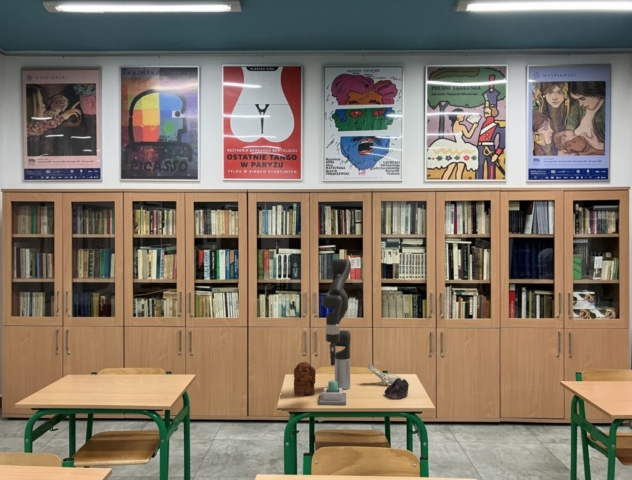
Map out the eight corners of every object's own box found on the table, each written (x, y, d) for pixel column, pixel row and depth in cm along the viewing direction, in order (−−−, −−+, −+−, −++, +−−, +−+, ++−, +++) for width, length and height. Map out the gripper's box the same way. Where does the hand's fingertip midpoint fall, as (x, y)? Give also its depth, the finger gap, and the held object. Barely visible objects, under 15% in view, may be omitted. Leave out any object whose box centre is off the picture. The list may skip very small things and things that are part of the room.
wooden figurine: (295, 396, 272) (294, 364, 272) (293, 393, 278) (293, 361, 278) (316, 395, 274) (316, 363, 274) (314, 392, 280) (314, 360, 280)
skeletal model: (409, 387, 289) (377, 358, 290) (398, 399, 289) (366, 370, 290) (405, 380, 305) (375, 352, 306) (395, 390, 305) (365, 363, 306)
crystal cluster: (384, 400, 268) (385, 382, 267) (383, 390, 281) (385, 373, 281) (409, 403, 266) (410, 385, 266) (407, 393, 280) (409, 376, 279)
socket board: (320, 395, 275) (320, 386, 275) (345, 395, 274) (345, 386, 274) (319, 404, 258) (319, 395, 258) (346, 405, 257) (345, 395, 257)
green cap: (328, 395, 269) (328, 380, 269) (337, 395, 268) (337, 381, 268) (328, 398, 264) (328, 383, 264) (337, 398, 263) (337, 383, 263)
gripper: (326, 330, 274) (326, 361, 274) (325, 334, 260) (325, 367, 259) (339, 330, 273) (339, 361, 273) (339, 334, 259) (339, 367, 259)
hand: (332, 363), depth 266 cm, fingers open, 4 cm apart
